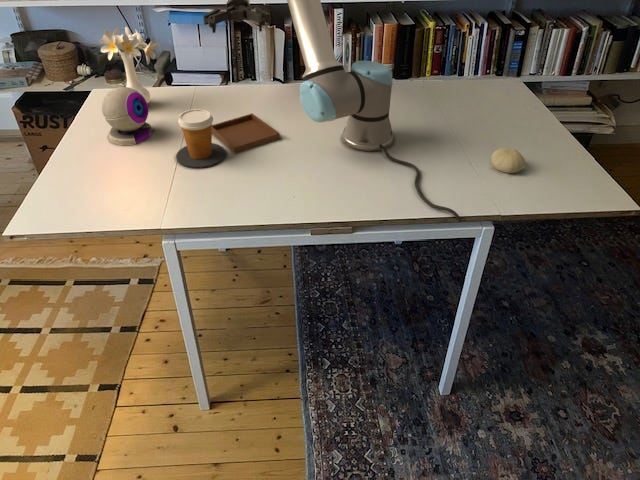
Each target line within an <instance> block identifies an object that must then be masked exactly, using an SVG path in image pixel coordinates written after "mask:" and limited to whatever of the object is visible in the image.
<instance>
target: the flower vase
mask: <svg viewBox="0 0 640 480" xmlns="http://www.w3.org/2000/svg"><path fill="white" fill-rule="evenodd" d="M124 31H125V32H124V33H123V34H120V35H119V33H120V29H119V27H118V28H115V29H114V30H113V32H111V31H110V30H109V29H104V30H103V35H102V37H101V38H100V39H98V43H99V44H105V45H103V46H101V48H100V53H102V54H103V53H104V54H105V53H107V59H108V61H111V60H112V59H113V56H114V54H117V53H118V54H119V55H120V57H121V59H122V62H123V65H124V70H125V71H124V72H125V75H126V85H125V87H129V88H132V89H135V90H136V91H138V92H139V93H140V94H141V95H142V96H143V97H144V98H145V100H146V102H147V104H148V103H150V100H151V98H152V96H151V93H150V91H149V90H148V89H147V88H146V87H145V86H143V85H142V83H141V82H140V81H139V78H138V75H137V71H136V68H135V64H134V56H136V57H141V56H142V53H141V51H140V50H142V51H144V55H145V57H146V64H147V65H149V64H150V62H151V59H152V60H155V59H156V57H157V55H156V53H155V52H154V50H156V48H157V47H158V44H159V43H158V42H155V43H154V41H153V40H150V42H149V43H148V44H147V43H146V42H145V41H144V39H143V36H142V35H141V33H140V32H138V31H137V29H136V28H135V33H133V34H132V31H131V30H130V28H129V27H127V26H125V27H124ZM139 49H140V50H139Z"/></svg>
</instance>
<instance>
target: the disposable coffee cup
mask: <svg viewBox="0 0 640 480" xmlns="http://www.w3.org/2000/svg"><path fill="white" fill-rule="evenodd" d="M213 122H214V118H213V116H212V114H211V112H210V111H208V110H206V109H203V108H193V109H188V110H185V111H183V112H181V113H180V114H179V116H178V120H177V123H178V125H179V126H180V128H181V131H182V134H183V138H184V141H185V144H186V145H185V146H187V148H188V151H189V154H190V157H191V158H193V159H205V158H208V157H209V156H211V154H212V143H213V142H212V141H213V134H212V125H213Z"/></svg>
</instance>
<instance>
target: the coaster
mask: <svg viewBox="0 0 640 480" xmlns="http://www.w3.org/2000/svg"><path fill="white" fill-rule="evenodd" d="M175 158H176V162H177V163H178V164H179V165H181V166H182V167H184V168H189V169H206V168H210V167H214V166H217V165H219V164H220V163H221V162H222V161H224V159H225V158H226V150H225V148H224V147H223V146H221V145H219V144H217V143H214V142H212V154H211V156H209V157H208V158H205V159H193V158H191V157H190V154H189V151H188V148H187V145H185V146H183V147H182V148H181V149H179V150H178V151H177V153H176V157H175Z"/></svg>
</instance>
